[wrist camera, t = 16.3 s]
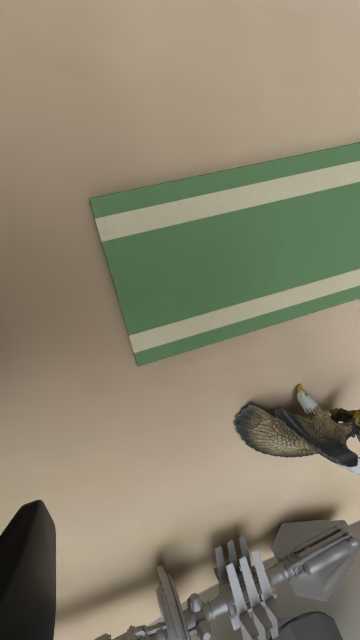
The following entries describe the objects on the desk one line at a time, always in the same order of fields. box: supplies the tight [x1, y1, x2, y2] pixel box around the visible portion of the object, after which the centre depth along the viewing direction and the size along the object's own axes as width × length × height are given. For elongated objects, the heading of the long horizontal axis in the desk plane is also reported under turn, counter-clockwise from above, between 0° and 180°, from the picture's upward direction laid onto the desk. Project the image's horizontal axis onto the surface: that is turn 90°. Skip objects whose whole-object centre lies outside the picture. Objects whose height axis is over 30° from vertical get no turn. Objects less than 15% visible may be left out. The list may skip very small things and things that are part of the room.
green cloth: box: [89, 143, 360, 366], centre depth 19 cm, size 20×10×1 cm, turn 102°
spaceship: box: [95, 520, 360, 640], centre depth 23 cm, size 8×35×8 cm
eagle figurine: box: [234, 385, 360, 475], centre depth 22 cm, size 8×7×9 cm
